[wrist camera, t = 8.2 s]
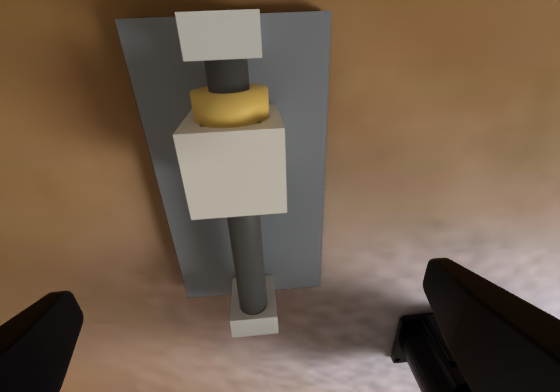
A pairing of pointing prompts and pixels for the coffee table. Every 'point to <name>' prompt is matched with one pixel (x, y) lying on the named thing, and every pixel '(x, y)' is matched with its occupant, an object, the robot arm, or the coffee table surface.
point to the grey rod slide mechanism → (236, 113)
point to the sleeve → (233, 167)
